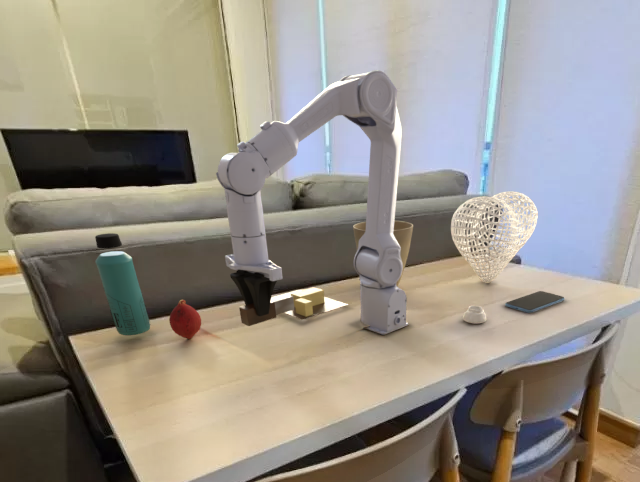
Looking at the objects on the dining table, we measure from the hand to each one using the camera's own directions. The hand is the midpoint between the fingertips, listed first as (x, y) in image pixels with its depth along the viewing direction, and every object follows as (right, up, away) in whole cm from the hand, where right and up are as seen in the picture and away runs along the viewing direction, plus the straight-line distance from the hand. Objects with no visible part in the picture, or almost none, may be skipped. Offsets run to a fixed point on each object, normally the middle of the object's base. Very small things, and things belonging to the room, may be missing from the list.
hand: (258, 312), depth 84 cm
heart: (+53, +17, +42) cm, 70 cm away
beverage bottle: (-27, -3, +10) cm, 29 cm away
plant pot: (+24, +14, +38) cm, 47 cm away
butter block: (+6, +7, +24) cm, 26 cm away
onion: (-16, -4, +9) cm, 19 cm away
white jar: (+43, +1, +17) cm, 46 cm away
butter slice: (+6, +3, +18) cm, 20 cm away
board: (+4, +6, +26) cm, 27 cm away
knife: (+2, 0, +2) cm, 3 cm away
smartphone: (+60, +7, +27) cm, 66 cm away
